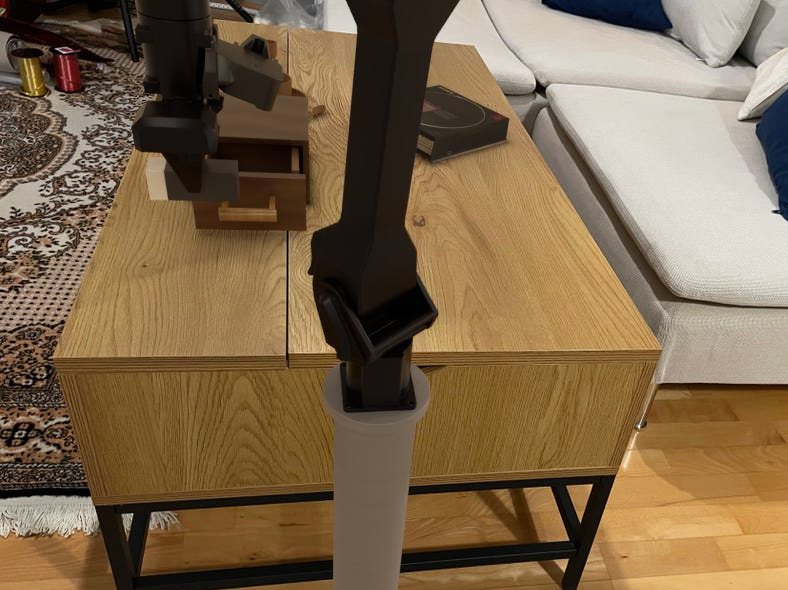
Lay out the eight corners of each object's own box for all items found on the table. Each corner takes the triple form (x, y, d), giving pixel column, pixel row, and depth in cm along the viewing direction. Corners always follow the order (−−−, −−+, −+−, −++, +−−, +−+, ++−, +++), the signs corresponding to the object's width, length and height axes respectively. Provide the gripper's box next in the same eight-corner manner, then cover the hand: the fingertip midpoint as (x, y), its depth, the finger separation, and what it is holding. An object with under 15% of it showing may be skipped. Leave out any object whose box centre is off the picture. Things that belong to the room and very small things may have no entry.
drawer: (307, 252, 80) (306, 198, 76) (191, 251, 77) (183, 194, 73) (304, 180, 94) (303, 131, 90) (206, 177, 91) (199, 125, 87)
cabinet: (310, 204, 91) (309, 140, 86) (198, 201, 88) (189, 134, 82) (307, 156, 102) (306, 96, 96) (208, 152, 98) (201, 90, 93)
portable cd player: (360, 124, 113) (361, 100, 111) (437, 107, 124) (440, 84, 121) (429, 163, 105) (432, 138, 103) (505, 142, 116) (509, 118, 113)
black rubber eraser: (238, 202, 69) (236, 173, 67) (150, 200, 67) (145, 170, 65) (240, 188, 71) (237, 160, 69) (154, 185, 69) (149, 156, 67)
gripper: (275, 55, 53) (282, 234, 63) (275, -9, 67) (281, 147, 77) (114, 43, 51) (148, 233, 60) (148, -21, 64) (171, 142, 74)
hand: (195, 184), depth 68 cm, fingers closed on black rubber eraser, 3 cm apart
